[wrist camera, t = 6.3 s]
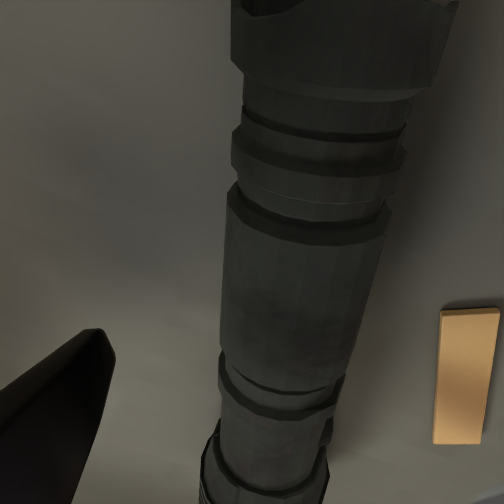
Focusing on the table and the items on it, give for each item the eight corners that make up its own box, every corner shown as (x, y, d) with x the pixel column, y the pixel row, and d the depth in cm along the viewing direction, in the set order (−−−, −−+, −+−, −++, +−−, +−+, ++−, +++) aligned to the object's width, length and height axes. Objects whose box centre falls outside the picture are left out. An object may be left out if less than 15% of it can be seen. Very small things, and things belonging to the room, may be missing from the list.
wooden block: (440, 310, 15) (442, 316, 15) (497, 306, 14) (501, 312, 14) (432, 437, 18) (433, 444, 18) (478, 437, 18) (480, 444, 18)
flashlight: (209, 469, 22) (185, 589, 17) (231, -25, 10) (176, -23, 6) (310, 485, 21) (310, 610, 17) (446, -5, 10) (542, 13, 6)
